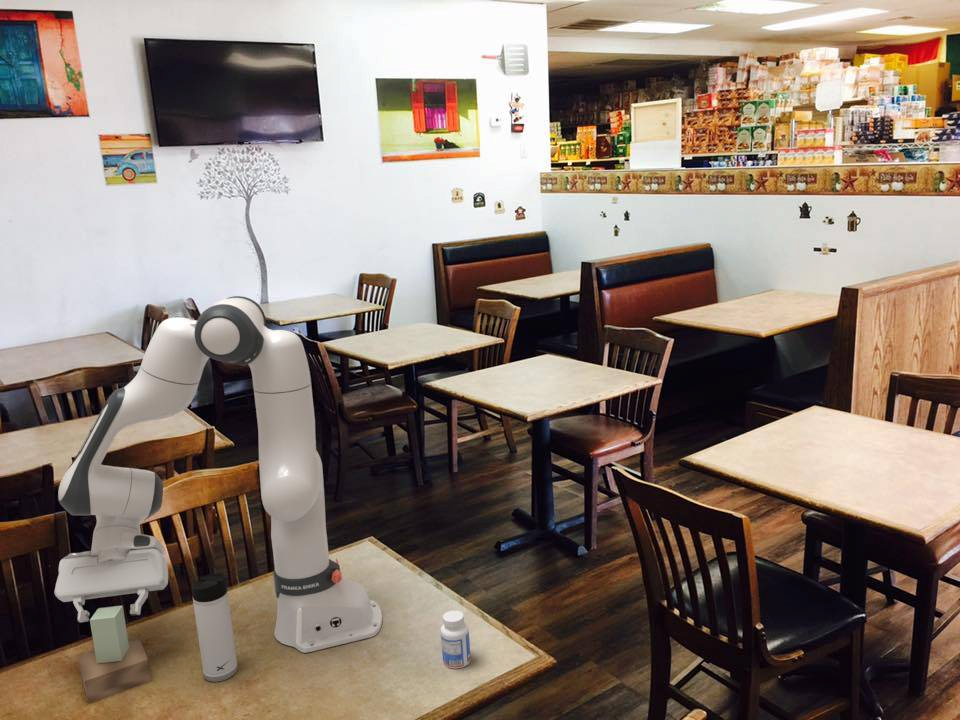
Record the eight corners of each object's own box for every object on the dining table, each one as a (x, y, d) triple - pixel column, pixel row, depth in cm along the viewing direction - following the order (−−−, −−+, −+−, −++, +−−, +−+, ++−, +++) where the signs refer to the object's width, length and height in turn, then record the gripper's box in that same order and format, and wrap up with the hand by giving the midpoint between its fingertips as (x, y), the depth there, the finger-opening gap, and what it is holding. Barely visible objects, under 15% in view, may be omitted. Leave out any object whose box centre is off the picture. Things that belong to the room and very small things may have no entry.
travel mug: (229, 683, 146) (215, 587, 142) (197, 681, 148) (183, 585, 143) (245, 664, 152) (233, 570, 148) (214, 661, 154) (201, 569, 149)
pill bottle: (457, 649, 154) (454, 604, 151) (476, 660, 150) (473, 614, 148) (436, 662, 150) (433, 616, 148) (455, 673, 146) (452, 626, 144)
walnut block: (141, 658, 157) (138, 636, 156) (151, 682, 149) (148, 659, 148) (81, 678, 151) (77, 655, 150) (88, 705, 143) (84, 681, 142)
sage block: (129, 647, 152) (122, 605, 150) (121, 660, 147) (114, 617, 146) (105, 650, 151) (98, 608, 150) (96, 663, 147) (89, 620, 145)
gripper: (54, 549, 151) (44, 621, 144) (164, 536, 154) (159, 606, 147) (66, 559, 156) (57, 629, 149) (172, 547, 159) (168, 615, 152)
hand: (109, 617), depth 148 cm, fingers open, 8 cm apart
